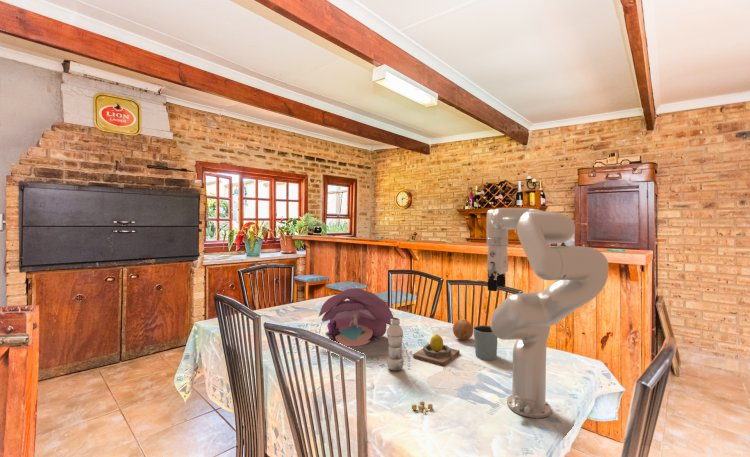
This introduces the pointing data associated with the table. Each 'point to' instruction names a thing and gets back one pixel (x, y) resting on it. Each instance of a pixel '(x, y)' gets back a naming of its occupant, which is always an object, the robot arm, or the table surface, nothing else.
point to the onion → (463, 329)
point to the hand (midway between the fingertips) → (496, 288)
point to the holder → (436, 355)
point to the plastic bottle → (395, 345)
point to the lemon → (436, 343)
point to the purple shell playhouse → (355, 316)
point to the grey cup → (485, 343)
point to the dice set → (422, 406)
